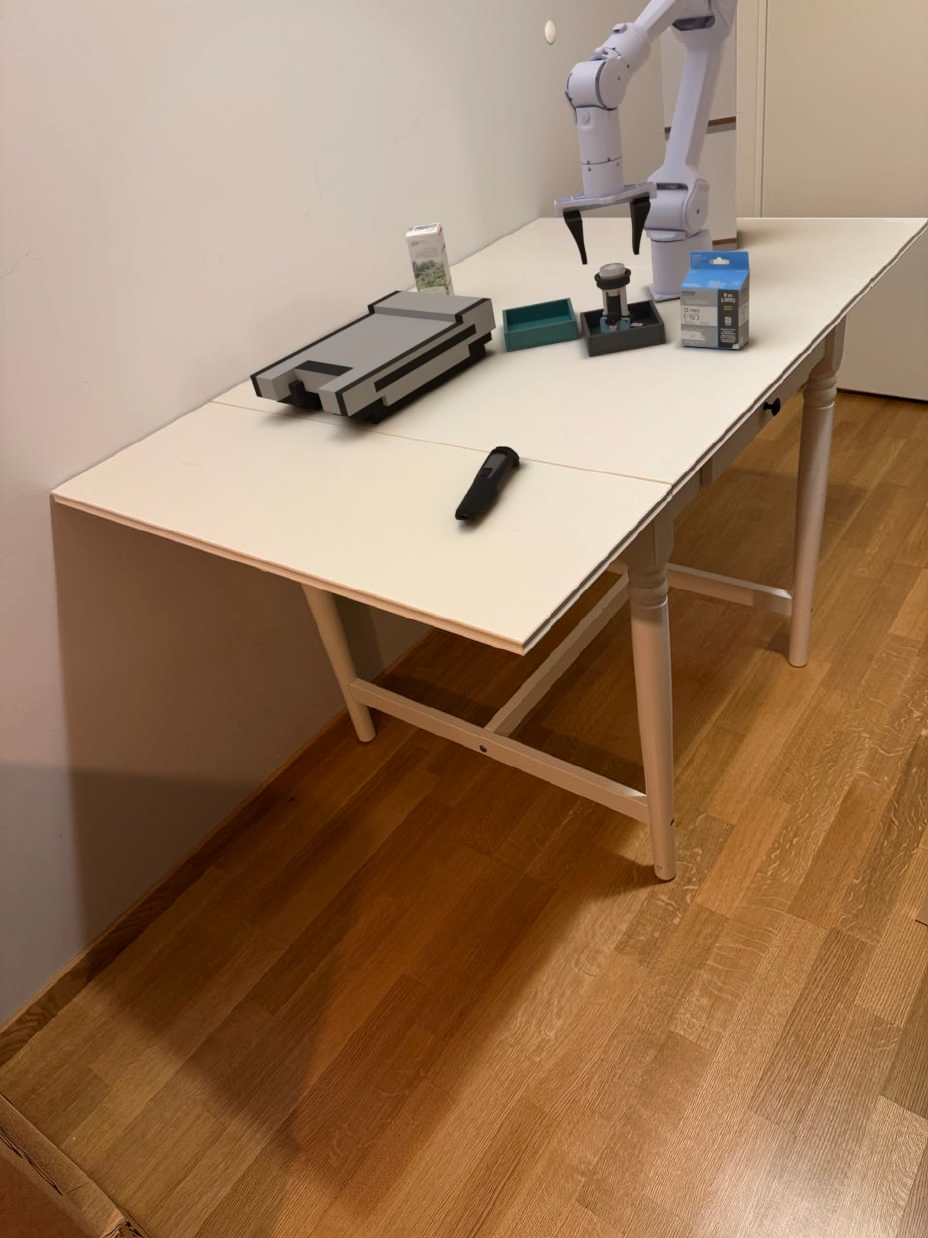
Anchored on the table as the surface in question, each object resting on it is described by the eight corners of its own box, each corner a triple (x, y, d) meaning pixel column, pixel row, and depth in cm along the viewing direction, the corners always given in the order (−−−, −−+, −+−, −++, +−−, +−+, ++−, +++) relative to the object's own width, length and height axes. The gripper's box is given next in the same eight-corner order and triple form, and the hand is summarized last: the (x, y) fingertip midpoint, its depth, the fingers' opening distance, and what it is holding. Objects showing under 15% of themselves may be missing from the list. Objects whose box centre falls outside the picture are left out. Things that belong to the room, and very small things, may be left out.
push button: (649, 327, 137) (645, 260, 131) (634, 341, 134) (629, 273, 128) (609, 326, 140) (603, 260, 135) (594, 339, 137) (587, 273, 131)
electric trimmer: (448, 531, 101) (443, 507, 99) (494, 462, 112) (490, 439, 110) (479, 533, 100) (474, 508, 98) (523, 462, 111) (519, 439, 109)
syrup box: (457, 303, 165) (441, 220, 156) (453, 314, 160) (437, 229, 152) (426, 308, 166) (409, 225, 157) (422, 319, 161) (404, 235, 153)
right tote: (653, 317, 141) (652, 299, 139) (665, 342, 132) (664, 323, 130) (581, 330, 142) (579, 312, 141) (589, 356, 133) (587, 337, 132)
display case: (736, 231, 168) (735, 8, 147) (736, 249, 160) (735, 15, 139) (673, 239, 171) (663, 22, 150) (670, 257, 163) (659, 30, 142)
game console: (264, 418, 138) (247, 367, 133) (407, 338, 155) (396, 290, 150) (355, 440, 125) (339, 385, 120) (500, 350, 142) (491, 298, 137)
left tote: (572, 314, 149) (570, 297, 147) (578, 338, 140) (576, 320, 138) (504, 327, 150) (502, 309, 148) (507, 351, 141) (504, 333, 140)
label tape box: (680, 346, 130) (676, 259, 123) (692, 335, 132) (689, 249, 125) (738, 351, 125) (738, 260, 118) (750, 339, 127) (751, 249, 120)
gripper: (552, 174, 125) (563, 274, 133) (658, 153, 123) (663, 255, 131) (548, 164, 130) (560, 261, 138) (650, 144, 129) (655, 242, 137)
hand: (610, 257), depth 135 cm, fingers open, 7 cm apart
